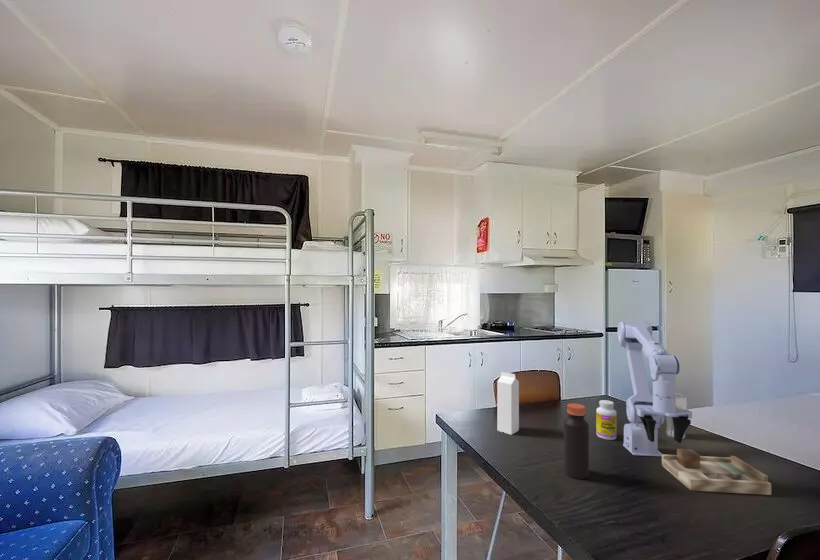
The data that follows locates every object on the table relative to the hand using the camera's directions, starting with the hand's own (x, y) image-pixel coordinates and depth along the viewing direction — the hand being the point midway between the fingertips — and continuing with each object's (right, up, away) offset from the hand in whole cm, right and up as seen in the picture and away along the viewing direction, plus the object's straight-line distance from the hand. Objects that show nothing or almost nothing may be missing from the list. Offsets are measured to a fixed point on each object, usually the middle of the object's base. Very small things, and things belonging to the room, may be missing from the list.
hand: (664, 441), depth 112 cm
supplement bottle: (-4, -10, +26) cm, 28 cm away
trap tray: (+11, -9, -4) cm, 15 cm away
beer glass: (+23, -10, +27) cm, 37 cm away
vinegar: (-26, -10, -1) cm, 28 cm away
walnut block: (+7, -7, -1) cm, 10 cm away
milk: (-38, -10, +32) cm, 51 cm away
